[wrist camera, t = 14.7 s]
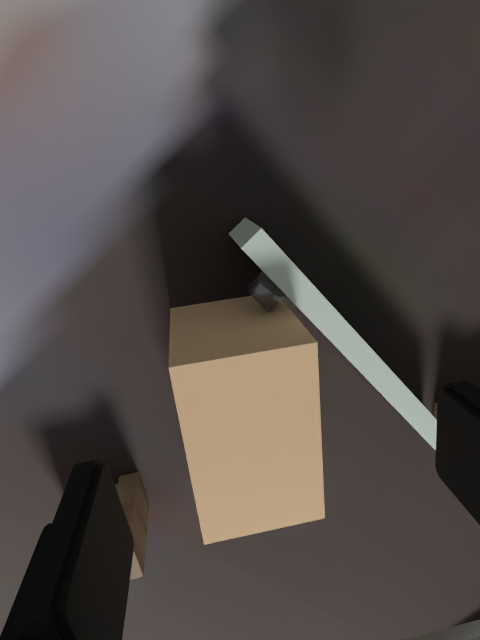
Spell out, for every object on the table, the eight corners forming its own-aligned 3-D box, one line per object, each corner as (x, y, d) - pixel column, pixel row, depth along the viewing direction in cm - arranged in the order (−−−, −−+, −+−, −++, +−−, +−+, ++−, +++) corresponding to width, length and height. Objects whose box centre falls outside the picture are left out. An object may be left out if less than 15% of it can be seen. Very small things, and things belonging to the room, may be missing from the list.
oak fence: (498, 388, 23) (564, 432, 19) (494, 421, 24) (556, 470, 20) (62, 489, 21) (36, 562, 17) (76, 522, 22) (54, 599, 18)
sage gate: (425, 413, 22) (468, 454, 19) (398, 436, 23) (435, 480, 19) (245, 217, 17) (261, 227, 14) (212, 250, 17) (220, 268, 14)
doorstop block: (275, 292, 19) (317, 342, 13) (286, 429, 22) (324, 518, 16) (170, 308, 18) (168, 367, 13) (196, 447, 21) (204, 544, 16)
